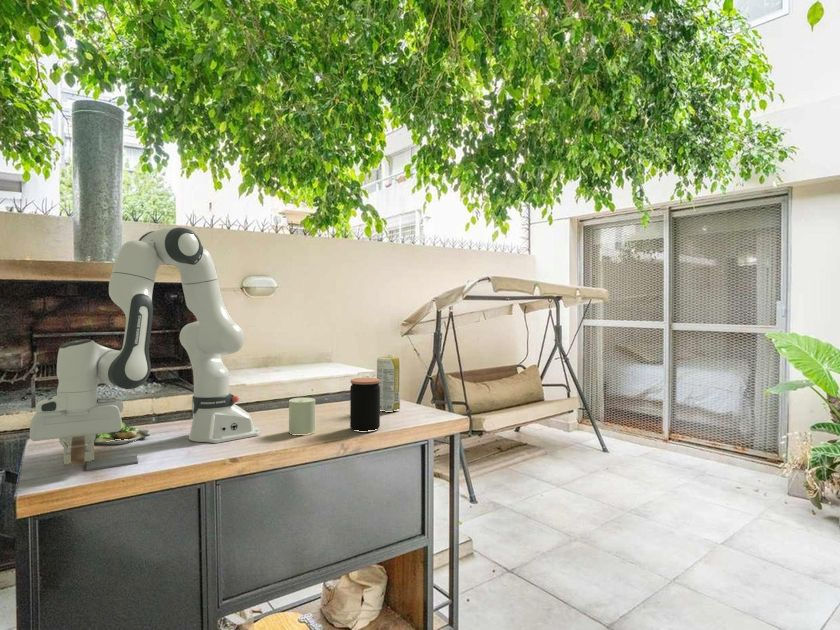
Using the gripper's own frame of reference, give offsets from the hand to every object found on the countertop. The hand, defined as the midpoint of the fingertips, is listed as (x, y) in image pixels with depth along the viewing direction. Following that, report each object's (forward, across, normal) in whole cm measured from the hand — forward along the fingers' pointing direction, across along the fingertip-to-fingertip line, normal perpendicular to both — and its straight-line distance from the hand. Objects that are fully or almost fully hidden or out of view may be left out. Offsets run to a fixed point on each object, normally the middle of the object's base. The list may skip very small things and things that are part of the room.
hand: (78, 452), depth 132 cm
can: (+6, -64, -8) cm, 65 cm away
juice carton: (+6, -108, -24) cm, 110 cm away
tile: (+5, 0, -9) cm, 11 cm away
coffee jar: (+6, -85, -1) cm, 85 cm away
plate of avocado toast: (+6, -10, -32) cm, 34 cm away
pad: (+5, -8, -2) cm, 10 cm away
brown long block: (+2, 0, 0) cm, 2 cm away
